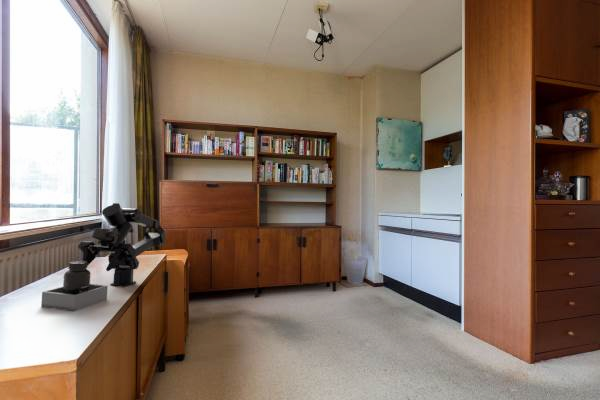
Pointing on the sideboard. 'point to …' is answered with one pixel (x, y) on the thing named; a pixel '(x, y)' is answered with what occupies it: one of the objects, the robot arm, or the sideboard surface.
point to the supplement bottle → (76, 278)
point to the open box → (73, 298)
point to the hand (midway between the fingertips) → (94, 269)
